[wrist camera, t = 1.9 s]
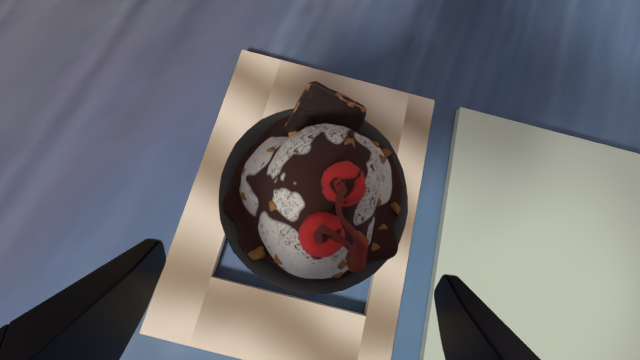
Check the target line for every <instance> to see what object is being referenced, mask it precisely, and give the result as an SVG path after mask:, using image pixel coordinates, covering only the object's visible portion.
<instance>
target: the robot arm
mask: <svg viewBox="0 0 640 360" xmlns="http://www.w3.org/2000/svg"><path fill="white" fill-rule="evenodd" d="M165 263H166V255H165V250H164V246H163V242H162V241H161V240H158V239H146V240H144V241H142V242H141V243H139V244H137V245H136V246H134V247H132V248H131V249H129V250H127V251H126V252H124V253H123V254H121V255H119V256H118V257H116V258H114V259H113V260H111V261H109V262H108V263H106V264H105V265H103V266H101V267H100V268H98V269H96V270H95V271H93V272H91V273H90V274H88V275H86V276H85V277H83V278H82V279H80V280H78V281H77V282H75V283H73V284H72V285H70V286H68V287H67V288H65V289H64V290H62V291H60V292H59V293H57V294H55V295H54V296H52V297H50V298H49V299H47V300H46V301H44V302H42V303H41V304H39V305H37V306H36V307H34V308H32V309H31V310H29V311H28V312H26V313H24V314H23V315H21V316H19V317H18V318H16V319H14V320H13V321H11V322H10V324H9V325H8V324H7V325H4V326H3V327H1V328H0V360H119V359H120V357H121V355H122V354H123V352H124V350H125V348H126V346H127V345H128V343H129V341H130V339H131V337H132V335H133V334H134V332H135V330H136V328H137V326H138V325H139V323H140V321H141V319H142V317H143V315H144V313H145V311H146V309H147V307H148V305H149V302H150V300H151V297H152V295H153V293H154V290H155V288H156V286H157V283H158V281H159V278H160V276H161V274H162V271H163V269H164V266H165ZM434 301H435V307H436V313H437V320H438V326H439V332H440V338H441V344H442V348H443V352H444V356H445V360H541V359H540V358H539V357H538V356H537V355H536V354H535V353H534V352H533V351H532V350H531V349H530V348H529V347H528V346H527V345H526V344H525V343H524V342H523V341H522V340H521V339H520V338H519V337H518V336H517V335H516V334H515V333H514V332H513V331H512V330H511V329H510V328H509V327H508V326H507V325H506V324H505V323H504V322H503V321H502V320H501V319H500V318H499V317H498V316H497V315H496V314H495V313H494V312H493V311H492V310H491V309H490V308H489V307H488V306H487V305H486V304H485V303H484V302H483V301H482V300H481V299H480V298H479V297H478V296H477V295H476V294H475V293H474V292H473V291H472V290H471V289H470V288H469V287H468V286H467V285H466V284H465V283H464V282H463V281H462V280H461V279H460V278H459V277H458V276H456V275H450V274H444V275H442V277H441V279H440V280H439V282H438V284H437V286H436V288H435V290H434Z"/></svg>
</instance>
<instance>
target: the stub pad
mask: <svg viewBox="0 0 640 360" xmlns="http://www.w3.org/2000/svg"><path fill="white" fill-rule="evenodd" d="M444 274H450V275H456V276H458V277H459V278H460V279H461V280H462V281H463V282H464V283H465V284H466V285H467V286H468V287H469V288H470V289H471V290H472V291H473V292H474V293H475V294H476V295H477V296H478V297H479V298H480V299H481V300H482V301H483V302H484V303H485V304H486V305H487V306H488V307H489V308H490V309H491V310H492V311H493V312H494V313H495V314H496V315H497V316H498V317H499V318H500V319H501V320H502V321H503V322H504V323H505V324H506V325H507V326H508V327H509V328H510V329H511V330H512V331H513V332H514V333H515V334H516V335H517V336H518V337H519V338H520V339H521V340H522V341H523V342H524V343H525V344H526V345H527V346H528V347H529V348H530V349H531V350H532V351H533V352H534V353H535V354H536V355H537V356H538V357H539V358H540V359H541V360H640V154H638V153H634V152H630V151H626V150H623V149H619V148H615V147H611V146H607V145H604V144H600V143H596V142H592V141H588V140H585V139H581V138H577V137H573V136H569V135H565V134H562V133H558V132H554V131H550V130H546V129H543V128H539V127H535V126H531V125H527V124H524V123H520V122H516V121H512V120H508V119H505V118H501V117H497V116H493V115H489V114H486V113H482V112H478V111H474V110H470V109H466V108H463V107H460V108H459V109H457V110H456V116H455V122H454V129H453V136H452V142H451V149H450V156H449V162H448V169H447V176H446V182H445V189H444V196H443V202H442V209H441V216H440V223H439V229H438V236H437V243H436V249H435V256H434V263H433V269H432V276H431V283H430V289H429V296H428V303H427V309H426V316H425V323H424V329H423V336H422V343H421V350H420V356H419V360H445V356H444V352H443V348H442V344H441V338H440V332H439V326H438V320H437V313H436V307H435V301H434V290H435V288H436V286H437V284H438V282H439V280H440V279H441V277H442V275H444Z"/></svg>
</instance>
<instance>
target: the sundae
mask: <svg viewBox="0 0 640 360" xmlns="http://www.w3.org/2000/svg"><path fill="white" fill-rule="evenodd" d="M365 117H366V108H365V107H364V106H363V105H362V104H360V103H358V102H356V101H355V100H353V99H351V98H349V97H348V96H346V95H344V94H342V93H340V92H338V91H335V90H332V89H329V88H328V87H326V86H324V85H323V84H321V83H319V82H317V81H314V82H309V83H308V85H307V86H306V88H305V90H304V91H303V93H302V95H301V97H300V98H299V100H298V102H297V104H296V106H295V108H293V109H288V110H284V111H281V112H277V113H275V114H272V115H270V116H268V117H265V118H263V119H261V120H260V121H258V122H257V123H256V124H255V125H253V126H252V127H251V128H250V129H248V130H247V131H246V132H245V133H244V135H243V136H242V137H241V138H240V139H239V140H238V141H237V142H236V143H235V145H234V147H233V149H232V151H231V153H230V155H229V157H228V158H227V161H226V163H225V166H224V169H223V172H222V174H221V180H220V187H219V204H218V205H219V215H220V221H221V224H222V227H223V230H224V233H225V236H226V238H227V240H228V242H229V244H230V246H231V248H232V250H233V252H234V253H235V254H236V255H237V257H238V258H239V259H240V260H241V261H242V262H243V263H244V265H245V266H246V267H247V268H249V269H250V270H251V271H252V272H253V273H255V274H256V275H257V276H258V277H259V278H260V279H262V280H264V281H266V282H268V283H270V284H272V285H274V286H276V287H279V288H281V289H284V290H287V291H290V292H294V293H300V294H311V295H314V294H328V293H333V292H337V291H342V290H345V289H347V288H349V287H352V286H354V285H356V284H358V283H360V282H362V281H363V280H365V279H367V278H368V277H370V276H371V275H373V274H375V273H376V272H377V271H378V270H379V269H380V268H381V267H382V265H383V264H384V263H385V262H386V261H387V260H388V259H390V258H392V257H394V256H395V255H396V253H397V251H398V245H399V243H400V240H401V237H402V234H403V231H404V228H405V225H406V220H407V215H408V195H407V186H406V181H405V176H404V171H403V168H402V166H401V163H400V161H399V159H398V156H397V154H396V153H395V151H394V149H393V147H392V146H391V144H390V142H389V140H388V139H387V138H386V137H385V136H384V135H383V134H382V133H381V132H380V131H379V130H378V129H377V128H375V127H374V126H373V125H371V124H370V123H369V122H367V121H366V120H364V119H365Z"/></svg>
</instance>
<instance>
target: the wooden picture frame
mask: <svg viewBox="0 0 640 360" xmlns="http://www.w3.org/2000/svg"><path fill="white" fill-rule="evenodd" d="M314 81H317V82H319V83H321V84H323V85H324V86H326V87H328V88H329V89H332V90H335V91H338V92H340V93H342V94H344V95H346V96H348V97H349V98H351V99H353V100H355V101H356V102H358V103H360V104H362V105H363V106H364V107H365V108H366V117H365V119H364V120H366V121H367V122H369V123H370V124H371V125H373V126H374V127H375V128H377V129H378V130H379V131H380V132H381V133H382V134H383V135H384V136H385V137H386V138H387V139H388V140H389V142H390V144H391V146H392V147H393V149H394V151H395V153H396V154H397V156H398V159H399V161H400V163H401V166H402V168H403V171H404V176H405V181H406V186H407V195H408V215H407V220H406V225H405V228H404V231H403V234H402V237H401V240H400V243H399V245H398V251H397V253H396V255H395V256H394V257H392V258H390V259H388V260H387V261H386V262H385V263H384V264H383V265H382V267H381V268H380V269H379V270H378V271H377V272H376V273H375V274H373V275H372V276H371V281H370V286H369V291H368V296H367V301H366V306H365V311H364V314H361V313H357V312H354V311H350V310H346V309H342V308H338V307H334V306H330V305H326V304H322V303H318V302H314V301H310V300H306V299H302V298H299V297H295V296H291V295H287V294H283V293H279V292H275V291H271V290H267V289H263V288H259V287H255V286H251V285H247V284H243V283H240V282H236V281H232V280H228V279H224V278H220V277H216V276H214V274H215V271H216V268H217V264H218V261H219V258H220V255H221V252H222V249H223V246H224V243H225V239H226V236H225V233H224V230H223V227H222V224H221V221H220V215H219V205H218V204H219V187H220V180H221V174H222V172H223V169H224V166H225V163H226V161H227V158H228V157H229V155H230V153H231V151H232V149H233V147H234V145H235V143H236V142H237V141H238V140H239V139H240V138H241V137H242V136H243V135H244V133H245V132H246V131H247V130H248V129H250V128H251V127H252V126H253V125H255V124H256V123H257V122H258V121H260V120H261V119H263V118H265V117H268V116H270V115H272V114H275V113H277V112H281V111H284V110H288V109H293V108H295V106H296V104H297V102H298V100H299V98H300V97H301V95H302V93H303V91H304V90H305V88H306V86H307V85H308V83H309V82H314ZM434 103H435V100H432V99H428V98H425V97H421V96H417V95H413V94H409V93H406V92H402V91H398V90H394V89H390V88H387V87H383V86H379V85H375V84H371V83H368V82H364V81H360V80H356V79H352V78H348V77H345V76H341V75H337V74H333V73H329V72H326V71H322V70H318V69H314V68H310V67H307V66H303V65H299V64H295V63H291V62H288V61H284V60H280V59H276V58H272V57H269V56H265V55H261V54H257V53H253V52H249V51H246V50H242V52H241V54H240V57H239V60H238V63H237V65H236V68H235V71H234V74H233V76H232V79H231V82H230V85H229V87H228V90H227V93H226V96H225V98H224V101H223V104H222V107H221V110H220V112H219V115H218V118H217V121H216V123H215V126H214V129H213V132H212V134H211V137H210V140H209V143H208V145H207V148H206V151H205V154H204V156H203V159H202V162H201V165H200V168H199V170H198V173H197V176H196V179H195V181H194V184H193V187H192V190H191V192H190V195H189V198H188V201H187V203H186V206H185V209H184V212H183V214H182V217H181V220H180V223H179V226H178V228H177V231H176V234H175V237H174V239H173V242H172V245H171V248H170V250H169V253H168V256H167V259H166V263H165V266H164V269H163V271H162V274H161V276H160V278H159V281H158V283H157V286H156V289H155V292H154V295H153V297H152V300H151V303H150V306H149V308H148V311H147V314H146V317H145V319H144V322H143V325H142V328H141V330H140V334H144V335H148V336H152V337H156V338H160V339H164V340H168V341H171V342H175V343H179V344H183V345H187V346H191V347H195V348H199V349H203V350H207V351H211V352H215V353H219V354H223V355H227V356H231V357H235V358H239V359H243V360H391V355H392V349H393V343H394V337H395V332H396V326H397V320H398V314H399V308H400V302H401V296H402V291H403V285H404V279H405V273H406V267H407V261H408V255H409V249H410V244H411V238H412V232H413V226H414V220H415V214H416V208H417V202H418V197H419V191H420V185H421V179H422V173H423V167H424V161H425V156H426V150H427V144H428V138H429V132H430V126H431V120H432V114H433V109H434Z"/></svg>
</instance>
